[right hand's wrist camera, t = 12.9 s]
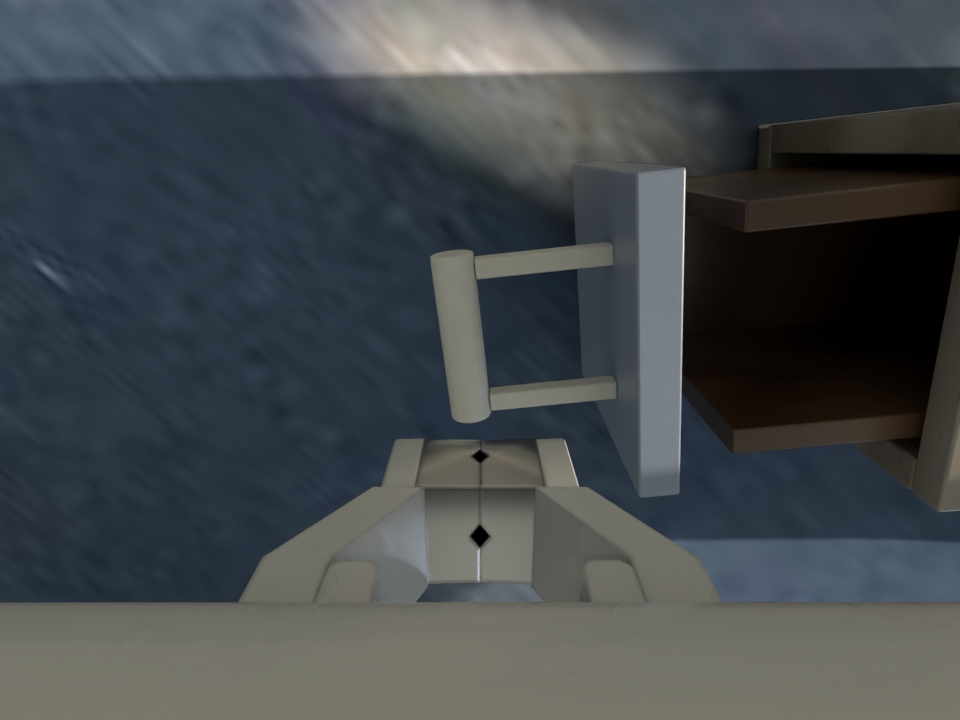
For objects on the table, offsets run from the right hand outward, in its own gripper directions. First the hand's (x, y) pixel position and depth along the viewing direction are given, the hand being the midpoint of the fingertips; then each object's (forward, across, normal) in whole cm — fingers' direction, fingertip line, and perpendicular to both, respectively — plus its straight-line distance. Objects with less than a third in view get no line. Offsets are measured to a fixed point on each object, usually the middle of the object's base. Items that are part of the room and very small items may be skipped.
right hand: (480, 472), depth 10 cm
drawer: (+15, -12, -1) cm, 19 cm away
